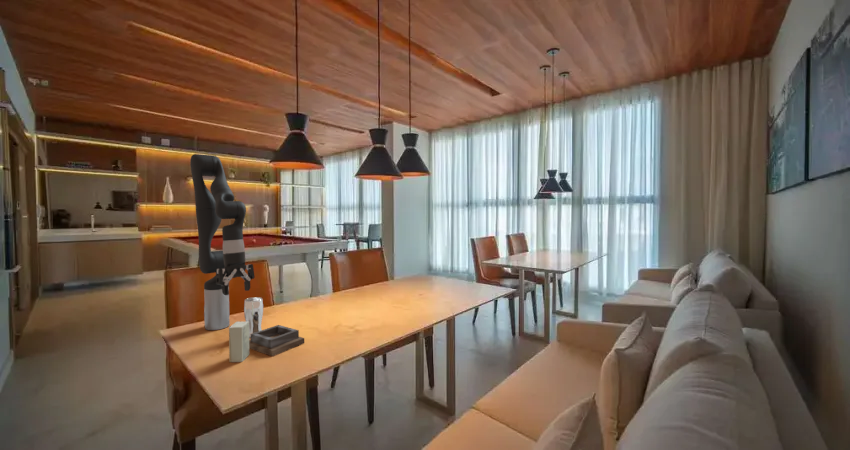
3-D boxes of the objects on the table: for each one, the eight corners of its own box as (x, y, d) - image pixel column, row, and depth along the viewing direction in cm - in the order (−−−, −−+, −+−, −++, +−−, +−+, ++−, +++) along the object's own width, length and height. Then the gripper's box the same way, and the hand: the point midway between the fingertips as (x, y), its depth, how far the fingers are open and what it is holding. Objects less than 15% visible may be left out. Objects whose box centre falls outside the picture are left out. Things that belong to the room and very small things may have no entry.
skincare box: (237, 355, 124) (236, 321, 123) (250, 354, 124) (249, 320, 123) (228, 362, 117) (228, 327, 117) (242, 362, 118) (241, 327, 117)
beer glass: (255, 339, 139) (255, 301, 138) (240, 337, 140) (239, 300, 139) (267, 333, 145) (266, 297, 145) (252, 331, 147) (251, 296, 146)
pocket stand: (245, 346, 131) (244, 333, 131) (277, 335, 143) (277, 323, 143) (272, 356, 123) (272, 342, 123) (304, 343, 135) (304, 330, 135)
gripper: (245, 250, 145) (248, 289, 145) (210, 253, 133) (213, 296, 133) (256, 249, 141) (259, 289, 141) (221, 253, 129) (224, 297, 129)
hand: (237, 292), depth 137 cm, fingers open, 8 cm apart
